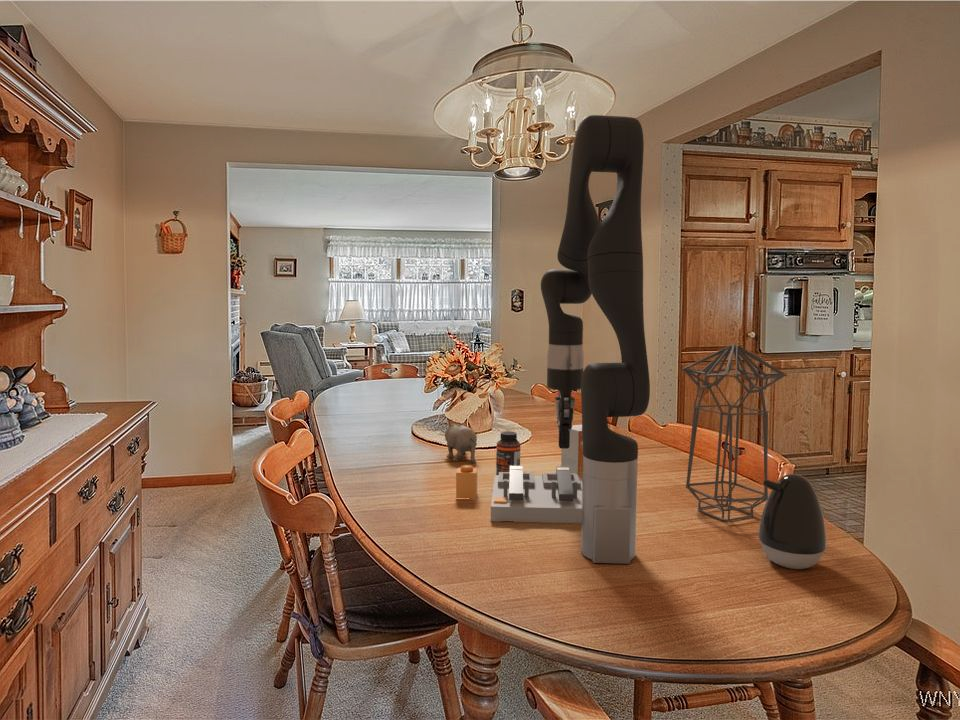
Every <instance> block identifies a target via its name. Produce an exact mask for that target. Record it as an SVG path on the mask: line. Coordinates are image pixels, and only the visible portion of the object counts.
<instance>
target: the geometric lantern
mask: <svg viewBox="0 0 960 720" xmlns="http://www.w3.org/2000/svg"><path fill="white" fill-rule="evenodd" d="M733 355H734V362H735V368H732V361H733ZM728 357H729V358H728ZM712 358H714V359H712ZM727 358H728V361H727ZM710 359H712V361H711V362H709V363H708V364H707V365H706V366H705V367H704V368H703V369H701V370H700V369H697V368H696V369H695V368H693V367H695V366H697V365H698V364H701V363H703V362H705V361H708V360H710ZM752 359H753V360H754V361H756V362H758V363H760V364H762V365H763V366H765V367H767V368H768V369H769V370H772V371H774V372H769V373H768V372H767V373H766V372H764V371H763V370H762V369H761V367H759V366H758V364H756V363H755V362H754V361H753V360H752ZM742 360H743V361H744V363H745V364H746V365H747V367H748V368H749V369H750V371H749V370H746V367H745V365H744V363H743V361H742ZM726 361H727V364H726V368H725V367H724V365H725V362H726ZM719 364H720V365H719ZM718 365H719V366H718ZM717 366H718V367H719V368H717ZM723 367H724V368H723ZM740 367H741V368H740ZM716 368H717V370H715V369H716ZM681 371H683V372H684V373H685V374H686V375H687V376H688V377H689V379H690V380H691V381H692V382H693V383H694V384H695V385H696V387H697V392H696V396H695V400H694V404H693V413H692V415H693V416H692V425H691V434H690V443H689V444H690V445H689V453H688V463H687V464H688V466H687V472H686V473H687V475H686V482H685V483H686V485H685V488H686V489H687V490H688V491H689V492H690V493H691V494H692V495H693V496H694V497H695V499H696V500H697V501H698V503H697V504H698V505H697V507H698V508H697V511H698V512H700V513H703V514H705V515H708V516H709V517H713V518H715V519H717V520H719V521H721V522H731V521H736V520H744V519H748V518H753V517H754V509H755V508H756V507H757V506H759V505H761V504H763V503H764V502H765V503H766V502H767V499H768V497H769V492H768V489H769V487H767V486H765V485H764V484H763V485H764V486H763V488H764V489H763V491H760V490H759V489H758V490H757V489H755V488H752V487H748V486H745V485H742V484H740V483H738V480H737V479H738V456H739V453H738V452H739V434H740V432H739V430H740V429H739V427H740V416H755V415H757V416H759V415H761V416H762V436H763V438H762V439H763V441H762V442H763V470H764V471H763V472H764V475H763V478H764V480H765V479H767V480H768V457H769V456H768V455H769V453H768V452H769V449H768V447H769V446H768V445H769V443H768V442H769V413H770V411H768V410H767V407H766V406H767V405H766V401H765V394H764V390H766V389H767V388H768V387H770V386H772V385H773V384H775V383H776V382H778V381H779V380H781V379H783V378H784V377H788V374H787V373H785V372H784V371H781V370H780V369H779V368H776V367H775V366H773V365H772V364H771V363H768V362H767V361H765V360H764V359H763V358H761V357H759V356H758V355H756V354H754V353H752V352H750V351H749V350H747V349H745V348H744V347H742V346H741V345H736V344H730V345H728V346H726V347H724V348H722V349H720V350H718V351H716V352H714V353H712V354H710V355H707V356H705V357H704V358H701V359H700V360H698V361H695V362H693V363H691V364H688V365H687V366H685V367H683V368H682V369H681ZM731 371H735V373H734V374H732V375H731V374H730V372H731ZM722 372H724V373H722ZM738 372H739V373H738ZM760 373H761V374H760ZM701 375H704V379H702V378H701V377H700V376H701ZM749 375H751V376H749ZM726 377H729V378H731V377H732V378H735V379H736V381H737V382H738V383H739V384H740V385H741V387H742V388H743V390H745V391H743V393H742V394H741V395H740V397H739V398H738V399H737V400H736V401H735V403H733V404H731V403H729V401H728V399H727V398H726V396H725V395H724V393H723V392H722V391H721V389H720V387H719V384H721V382H722V381H724V379H725V378H726ZM739 377H740V378H744V380H746V382H748V387H747V386H746V384H745V383H744V382H743V381H742V380H741V379H740V378H739ZM708 378H715V381H713V382H708V381H709V380H708ZM771 379H772V380H771ZM752 380H755V384H754V383H753V382H752ZM759 380H760V381H761V383H760V384H761V385H760V386H759V385H758V383H759ZM768 380H770V381H768ZM700 382H702V383H703V386H702V385H701V383H700ZM713 387H716V388H717V390H718V391H719V393H720V394H721V396H722V397H723V399H724V400H725V402H726V403H727V404H720V403H719V401H718V399H717V397H716V395H715V394H714V391H713V390H712V388H713ZM700 390H701V392H700ZM706 390H708V391H709V392H710V394H711V397H712V398H713V400H714V402H715V404H712V405H711V404H709V405H707V404H705V405H704V404H703V405H701V403H702V401H703V400H702V399H703V396H704V393H705V391H706ZM699 393H700V396H699ZM754 393H759V395H760V401H761V406H762V407H761V408H762V409H758V408H752V407H749V406H748V407H747V406H742V405H743V403H744V402H745V401H746V399H747V398H748V397H749V395H750V394H754ZM698 397H699V399H698ZM740 400H741V401H740ZM697 401H698V402H697ZM739 401H740V402H739ZM696 404H697V405H696ZM737 404H738V405H737ZM716 407H717V408H718V409H719V411H717V410H712V409H708V408H716ZM723 407H728V409H727V412H725V411H724V410H723ZM734 408H735V409H736V412H735V413H734V412H733V413H732V412H731V411H733V409H734ZM740 409H745V410H749V411H750V410H751V411H756V412H741V413H740ZM700 410H701V411H706V412H709V413H715V414H719V415H720V417H719V429H718V441H717V455H716V456H717V457H716V466H715V467H716V468H715V480H714V481H704V482H702V481H701V482H693V483H691V482H690V481H691V474H692V467H693V460H694V453H695V445H696V438H697V429H698V423H699V415H700ZM724 416H727V418H726V428H725V438H724V446H723V448H724V449H723V459H722V468H721V474H720V465H721V464H720V462H721V450H722V447H721V446H722V439H723V438H722V437H723V435H722V434H723V433H722V432H723V422H724V421H723V420H724ZM733 416H736V418H735V419H736V421H735V447H734V451H735V452H734V470H733ZM727 451H728V480H725V479H724V478H725V471H726V460H727ZM733 471H734V473H733ZM733 474H734V476H733ZM719 475H721V476H720V480H719ZM732 477H734V478H732ZM764 480H763V481H764ZM732 481H733V482H732ZM719 484H720V485H721V495H718V490H719ZM724 484H726V485H728V494H727V495H725V491H724ZM704 485H705V486H706V485H714V496H711V495H709V494H707V493H704V492H702V491H700V490H698V489H696V488H693V486H694V487H695V486H704ZM735 487H739V488H742V489H744V490H747V491H751V492H753V493H756V494H759V495H762V496H760V497H759V496H758V497H745V498H743V497H742V498H734V497H732V496H733V495H732V492H733V490H734V489H735ZM697 494H699V495H700V496H703V497H702V498H700V497H699V495H697ZM706 500H707V501H706ZM708 500H712V501H714V502H716V503H717V504H713V503H710V502H708ZM750 501H753V503H749V502H750ZM724 502H725V503H724ZM736 502H737V503H738V502H739V503H740V504H745V505H747V506H741V507H736V506H733V505H732V503H736ZM701 503H703V504H706V506H701ZM723 506H726V507H727V508H724V507H723ZM710 508H716V509H719V510H720V511H721V517H719V516H717V515H714V514H711V513H709V512H707V511H705V510H702V509H710ZM747 509H750V510H749V511H750V512H749V511H747ZM731 511H740V512H743V513H745V514H748V515H744V516H739V517H733V518H731ZM725 512H727V518H725Z"/></svg>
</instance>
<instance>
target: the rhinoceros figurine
mask: <svg viewBox="0 0 960 720" xmlns="http://www.w3.org/2000/svg"><path fill="white" fill-rule="evenodd" d="M444 440H445V441H446V445H447V450H448V454H447V455H446V458H447V457H448V458H450V457H451V458H452V459H453V460H454V462H459V461H460V460H461V458H462V457H463V454H464V455H466V453H467V452H470V459H469V462H468V463H469V464H474V463H475V464H476V463H477V461H476V458H475V454H476V448H477V445H478V443H477V440H478V436H477V433H476V432H475V431H474V430H473V429H472V428H470V427H468V426H467V425H466V426H465V425H464V424H463V422H460V423H459V424H455V423H452V422H451V423H450V425H449V426H448V428H447V429H446V431H445V434H444ZM454 450H456V454H455V456H454V452H453V451H454ZM453 456H454V457H453ZM453 460H452V461H453ZM455 460H456V461H455ZM458 460H459V461H458Z"/></svg>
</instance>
